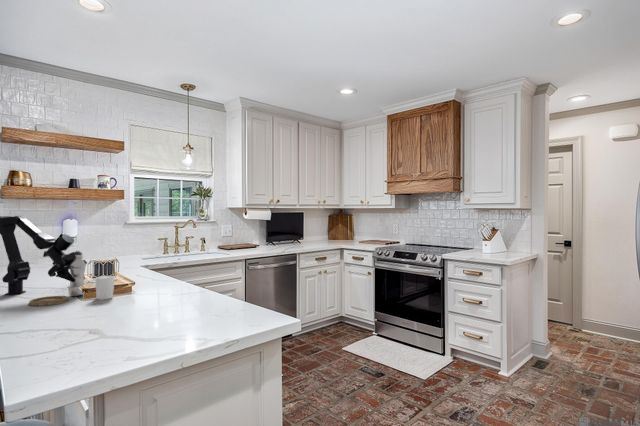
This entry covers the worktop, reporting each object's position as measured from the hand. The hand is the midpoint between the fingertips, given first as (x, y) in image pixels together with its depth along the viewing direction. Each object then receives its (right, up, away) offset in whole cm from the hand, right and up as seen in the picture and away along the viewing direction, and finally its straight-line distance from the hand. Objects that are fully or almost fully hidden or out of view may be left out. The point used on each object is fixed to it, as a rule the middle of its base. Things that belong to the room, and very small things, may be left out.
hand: (79, 280), depth 179 cm
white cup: (+15, -8, -4) cm, 17 cm away
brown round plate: (-5, -8, -13) cm, 16 cm away
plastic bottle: (-1, -8, 0) cm, 8 cm away
